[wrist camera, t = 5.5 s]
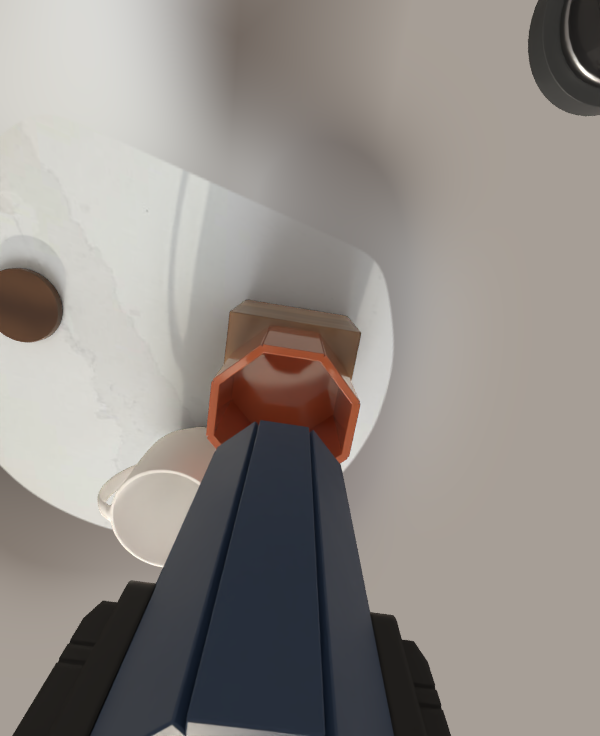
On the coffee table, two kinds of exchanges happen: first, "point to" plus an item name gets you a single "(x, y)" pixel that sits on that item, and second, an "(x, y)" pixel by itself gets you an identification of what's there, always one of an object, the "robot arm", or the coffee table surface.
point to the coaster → (28, 305)
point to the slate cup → (257, 607)
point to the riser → (261, 315)
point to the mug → (157, 494)
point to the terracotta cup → (285, 389)
